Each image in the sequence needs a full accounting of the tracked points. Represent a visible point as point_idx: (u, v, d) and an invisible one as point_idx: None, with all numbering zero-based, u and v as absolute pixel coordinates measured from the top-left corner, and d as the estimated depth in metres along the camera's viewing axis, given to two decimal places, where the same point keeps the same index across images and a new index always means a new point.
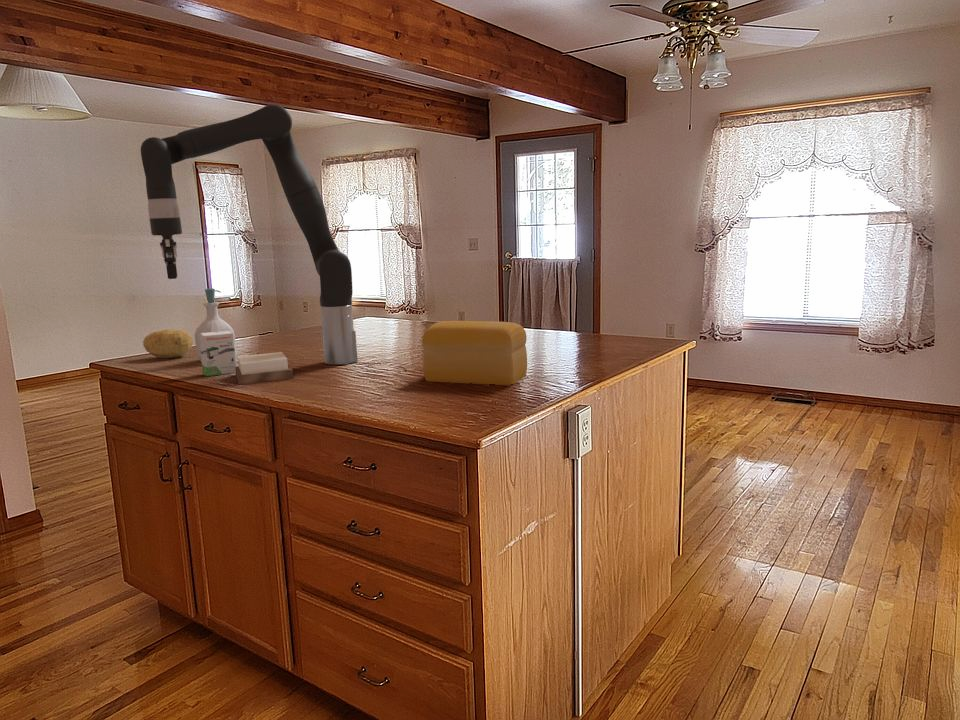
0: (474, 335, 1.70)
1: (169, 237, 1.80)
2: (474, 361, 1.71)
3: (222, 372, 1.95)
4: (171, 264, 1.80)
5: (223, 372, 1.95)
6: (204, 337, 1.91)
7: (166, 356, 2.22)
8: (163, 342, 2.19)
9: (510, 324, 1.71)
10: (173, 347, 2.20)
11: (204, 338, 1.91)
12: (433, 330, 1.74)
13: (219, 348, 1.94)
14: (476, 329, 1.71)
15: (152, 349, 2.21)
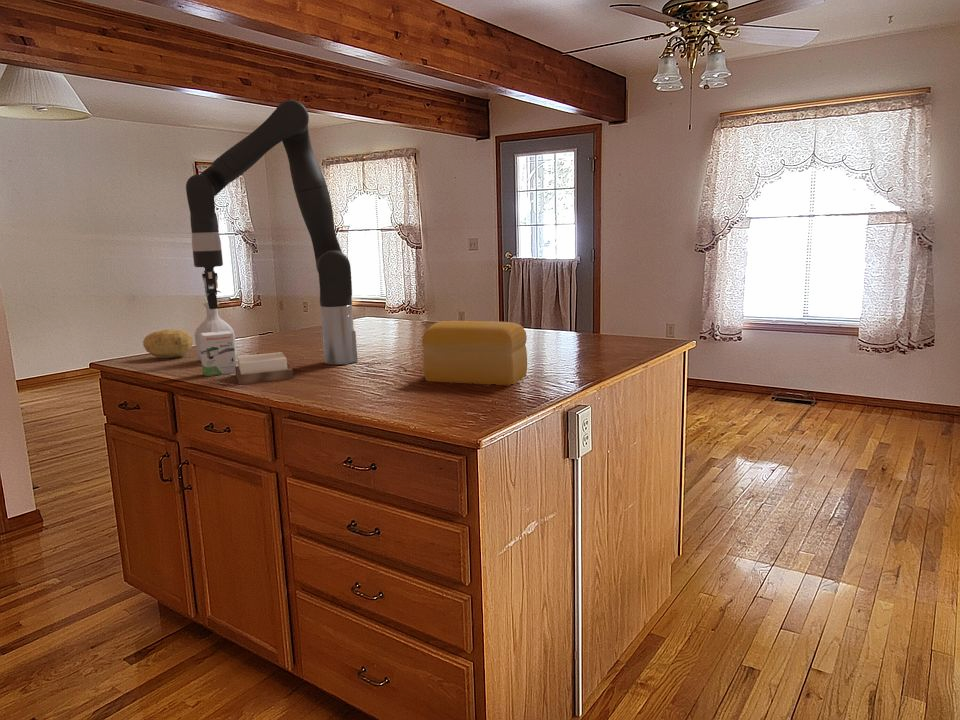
0: (474, 335, 1.70)
1: (211, 269, 1.88)
2: (474, 361, 1.71)
3: (222, 372, 1.95)
4: (213, 295, 1.88)
5: (223, 372, 1.95)
6: (204, 337, 1.91)
7: (166, 356, 2.22)
8: (163, 342, 2.19)
9: (510, 324, 1.72)
10: (173, 347, 2.20)
11: (204, 338, 1.91)
12: (433, 330, 1.75)
13: (219, 348, 1.94)
14: (476, 329, 1.71)
15: (152, 349, 2.21)
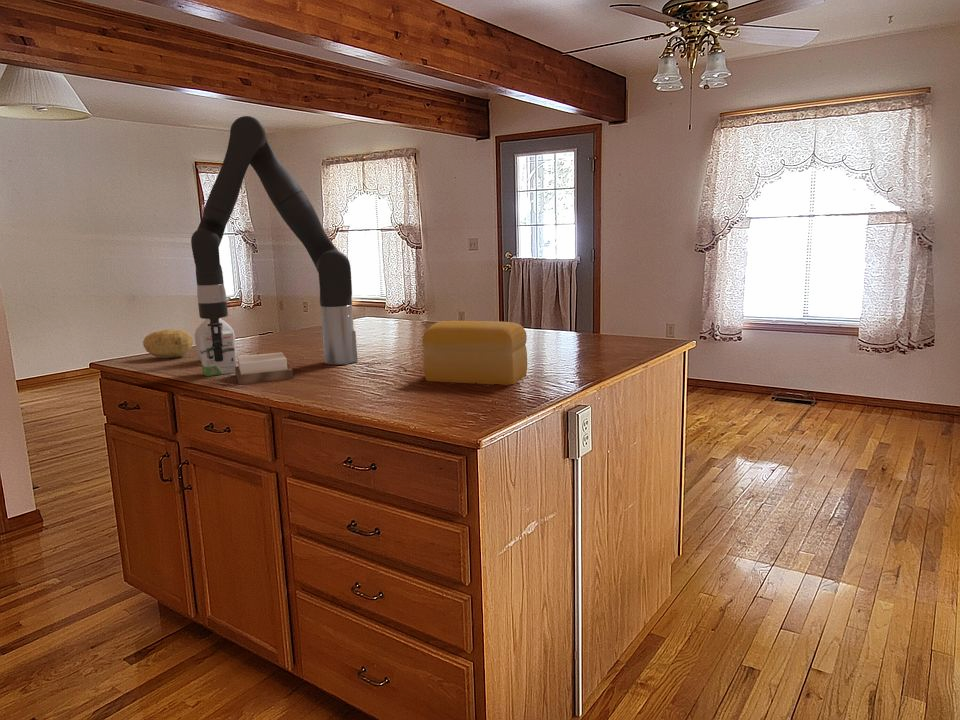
0: (474, 335, 1.70)
1: (216, 321, 1.91)
2: (474, 361, 1.71)
3: (222, 372, 1.95)
4: (218, 349, 1.92)
5: (223, 372, 1.95)
6: (204, 337, 1.91)
7: (166, 356, 2.22)
8: (163, 342, 2.19)
9: (510, 324, 1.72)
10: (173, 347, 2.20)
11: (204, 338, 1.91)
12: (433, 330, 1.75)
13: None
14: (477, 329, 1.71)
15: (152, 349, 2.21)
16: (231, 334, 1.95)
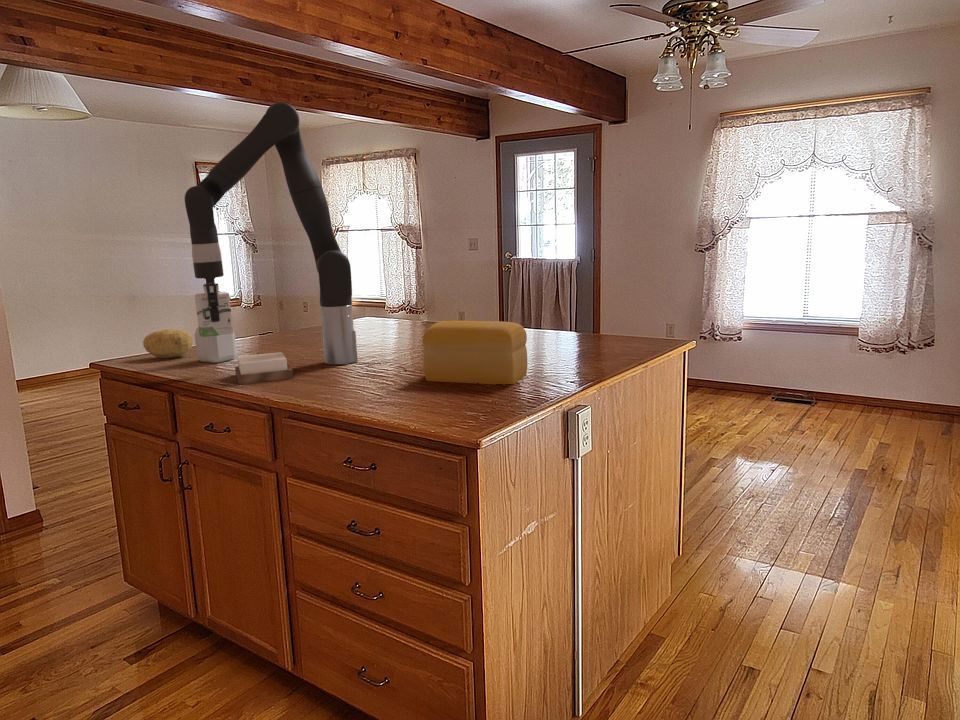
0: (474, 335, 1.70)
1: (212, 280, 1.89)
2: (474, 360, 1.71)
3: (219, 333, 1.93)
4: (214, 309, 1.90)
5: (219, 333, 1.93)
6: (200, 297, 1.89)
7: (166, 356, 2.22)
8: (163, 342, 2.19)
9: (510, 324, 1.72)
10: (173, 347, 2.20)
11: (200, 298, 1.89)
12: (433, 330, 1.75)
13: None
14: (477, 328, 1.71)
15: (152, 349, 2.21)
16: (227, 294, 1.93)
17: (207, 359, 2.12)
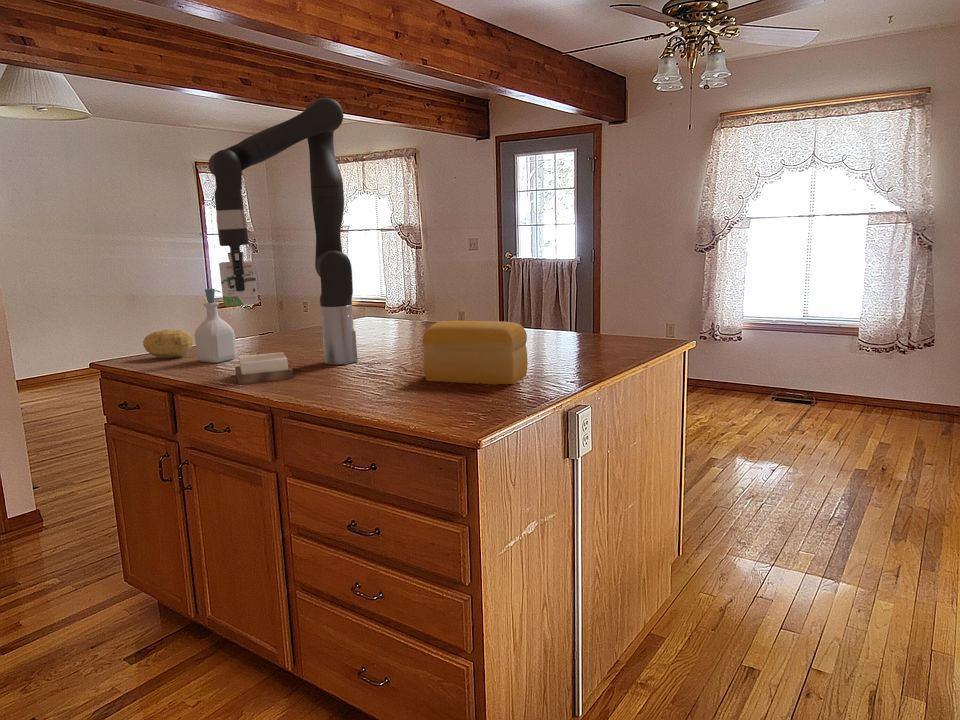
0: (474, 335, 1.70)
1: (237, 248, 1.83)
2: (474, 360, 1.71)
3: (243, 303, 1.87)
4: (240, 277, 1.84)
5: (244, 302, 1.87)
6: (224, 265, 1.83)
7: (166, 356, 2.22)
8: (163, 342, 2.19)
9: (510, 324, 1.72)
10: (173, 347, 2.20)
11: (224, 266, 1.83)
12: (434, 330, 1.75)
13: None
14: (477, 328, 1.71)
15: (152, 349, 2.21)
16: (252, 263, 1.87)
17: (207, 359, 2.12)
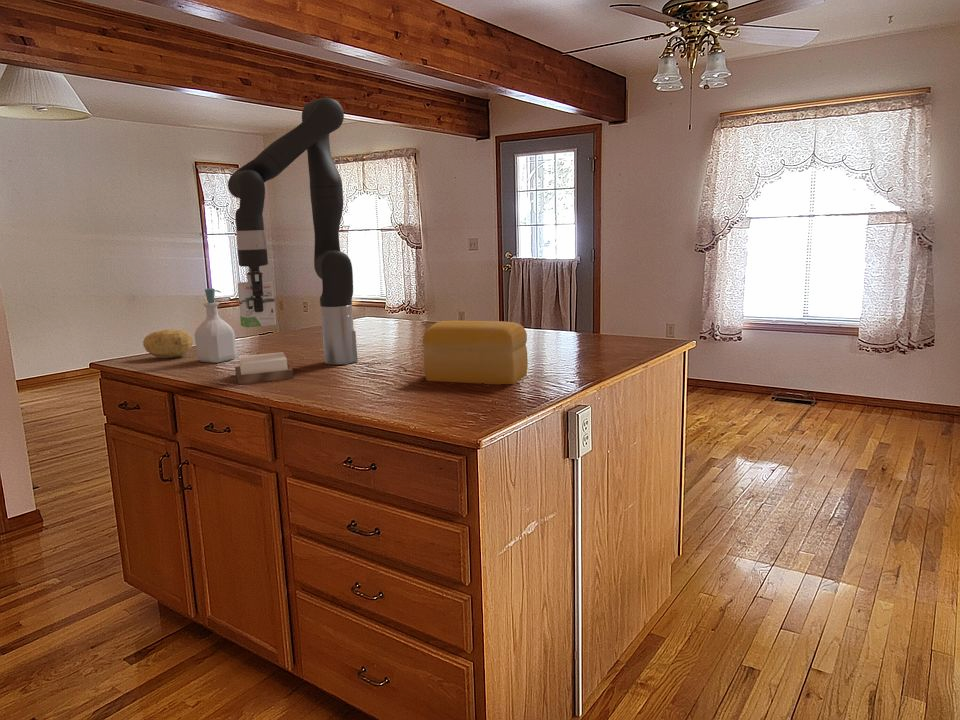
0: (474, 335, 1.71)
1: (257, 268, 1.81)
2: (475, 360, 1.72)
3: (261, 323, 1.85)
4: (258, 298, 1.82)
5: (262, 323, 1.85)
6: (243, 286, 1.81)
7: (166, 356, 2.22)
8: (163, 342, 2.19)
9: (511, 324, 1.72)
10: (173, 347, 2.20)
11: (243, 287, 1.82)
12: (434, 330, 1.75)
13: None
14: (477, 328, 1.71)
15: (152, 349, 2.21)
16: (271, 284, 1.85)
17: (207, 359, 2.12)
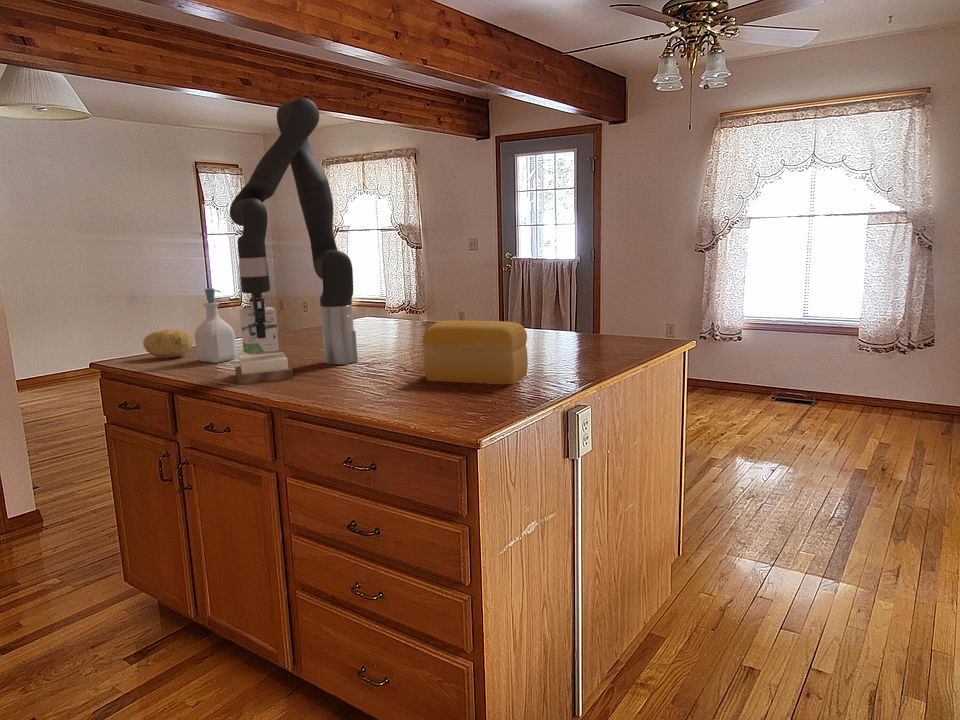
0: (474, 334, 1.71)
1: (259, 295, 1.83)
2: (475, 360, 1.72)
3: (264, 349, 1.87)
4: (261, 325, 1.84)
5: (265, 349, 1.87)
6: (246, 312, 1.83)
7: (166, 356, 2.22)
8: (163, 342, 2.19)
9: (511, 324, 1.72)
10: (173, 347, 2.20)
11: (246, 313, 1.83)
12: (434, 330, 1.75)
13: None
14: (477, 328, 1.71)
15: (152, 349, 2.21)
16: (273, 310, 1.87)
17: (207, 359, 2.12)
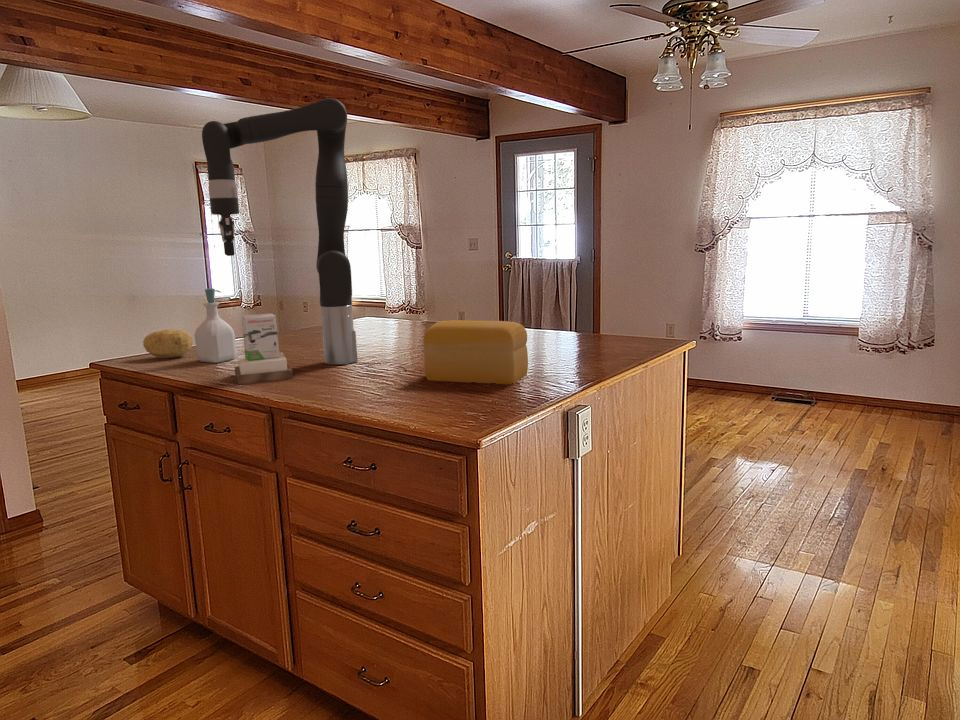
0: (475, 334, 1.71)
1: (228, 216, 1.90)
2: (475, 360, 1.72)
3: (264, 356, 1.87)
4: (230, 241, 1.90)
5: (265, 356, 1.87)
6: (246, 320, 1.83)
7: (166, 356, 2.22)
8: (163, 342, 2.19)
9: (511, 323, 1.73)
10: (173, 347, 2.20)
11: (246, 321, 1.83)
12: (434, 330, 1.75)
13: (261, 332, 1.85)
14: (478, 328, 1.72)
15: (152, 349, 2.21)
16: (274, 317, 1.86)
17: (207, 359, 2.12)
